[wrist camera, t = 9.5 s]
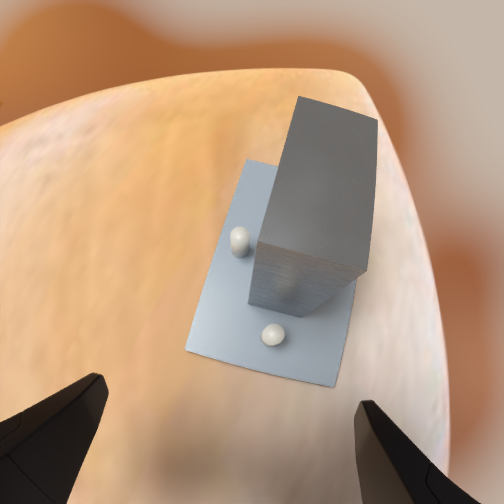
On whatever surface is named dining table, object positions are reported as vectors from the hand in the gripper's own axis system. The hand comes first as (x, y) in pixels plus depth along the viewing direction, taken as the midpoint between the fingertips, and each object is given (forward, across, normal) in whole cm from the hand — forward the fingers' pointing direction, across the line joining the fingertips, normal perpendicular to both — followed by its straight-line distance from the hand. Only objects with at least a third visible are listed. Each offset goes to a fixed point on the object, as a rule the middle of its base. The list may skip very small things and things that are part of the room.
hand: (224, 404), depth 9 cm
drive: (+13, -2, 0) cm, 13 cm away
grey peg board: (+13, -2, 0) cm, 13 cm away
